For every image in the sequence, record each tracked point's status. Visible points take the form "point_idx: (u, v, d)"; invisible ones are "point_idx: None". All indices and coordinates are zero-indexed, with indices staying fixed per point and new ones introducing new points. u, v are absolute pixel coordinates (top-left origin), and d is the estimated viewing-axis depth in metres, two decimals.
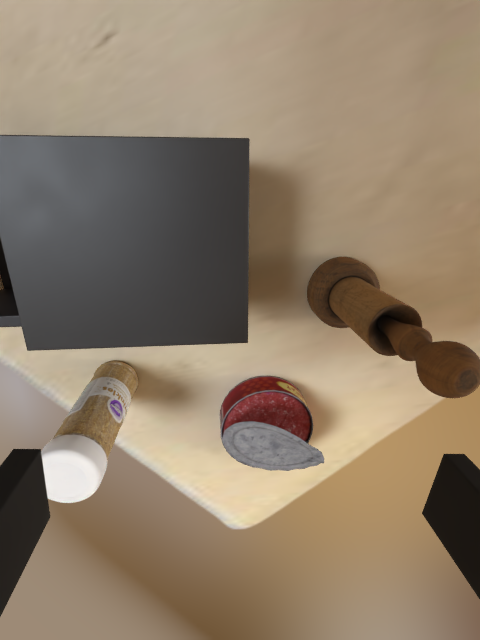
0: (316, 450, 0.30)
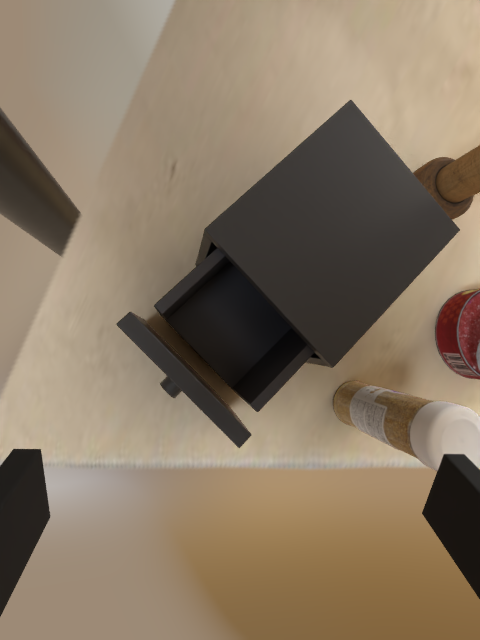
0: None
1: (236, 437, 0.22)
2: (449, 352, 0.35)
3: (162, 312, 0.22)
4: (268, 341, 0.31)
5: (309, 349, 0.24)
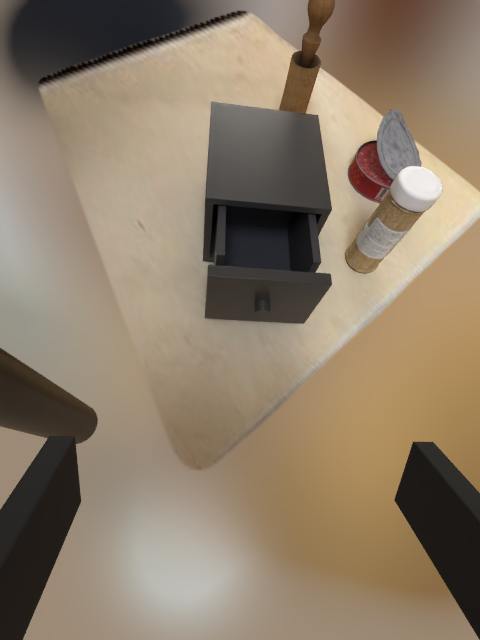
0: (391, 112, 0.46)
1: (324, 280, 0.31)
2: (377, 193, 0.48)
3: (224, 254, 0.31)
4: (284, 260, 0.41)
5: (311, 216, 0.34)
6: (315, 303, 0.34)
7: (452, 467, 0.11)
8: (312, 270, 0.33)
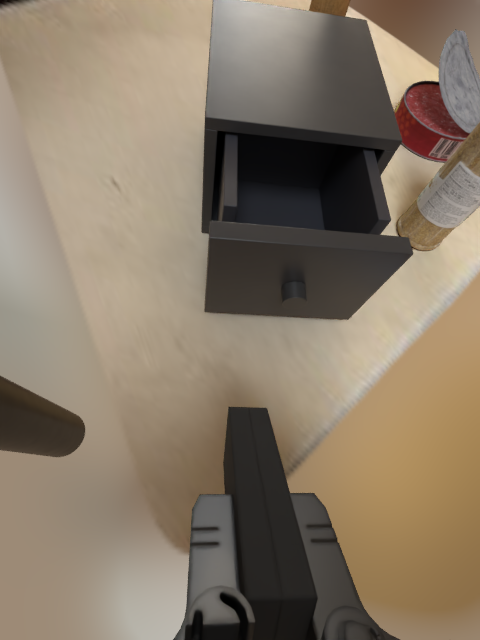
0: (456, 33, 0.34)
1: (401, 247, 0.19)
2: (433, 147, 0.36)
3: (236, 205, 0.19)
4: (317, 230, 0.29)
5: (369, 153, 0.22)
6: (375, 287, 0.22)
7: (271, 428, 0.12)
8: None
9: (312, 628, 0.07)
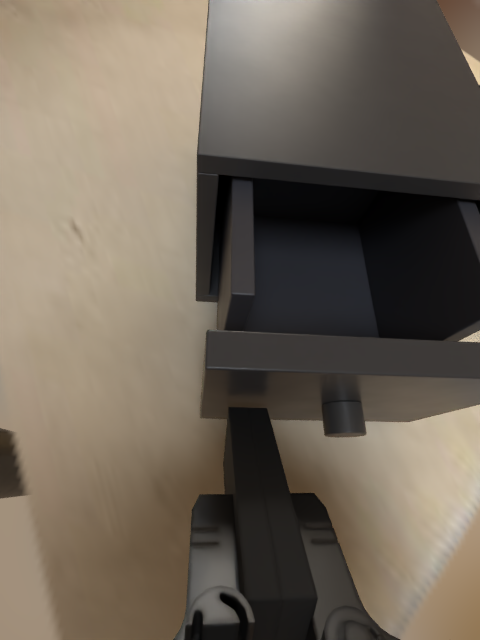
0: None
1: None
2: None
3: (253, 292, 0.11)
4: (359, 285, 0.20)
5: None
6: (473, 404, 0.14)
7: (271, 428, 0.12)
8: (476, 327, 0.13)
9: (313, 627, 0.07)
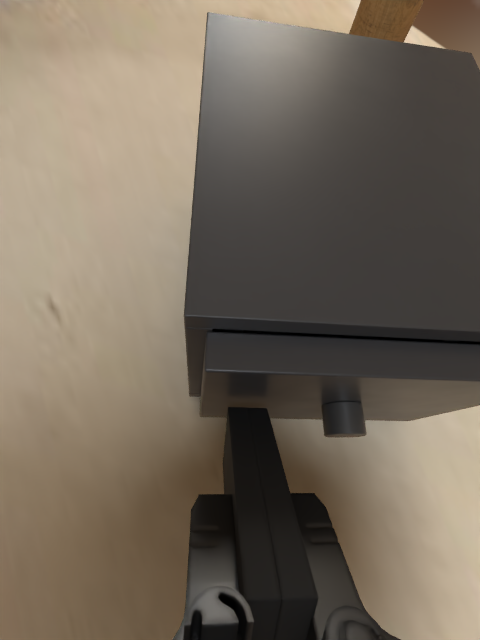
0: None
1: None
2: None
3: None
4: None
5: None
6: (474, 405, 0.14)
7: (271, 428, 0.12)
8: None
9: (313, 628, 0.07)
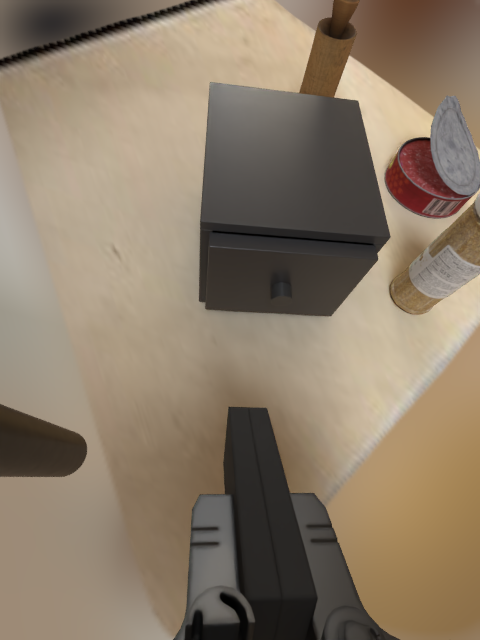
0: (448, 99, 0.35)
1: (368, 254, 0.22)
2: (426, 205, 0.37)
3: None
4: None
5: None
6: (351, 287, 0.26)
7: (271, 428, 0.12)
8: None
9: (312, 627, 0.07)
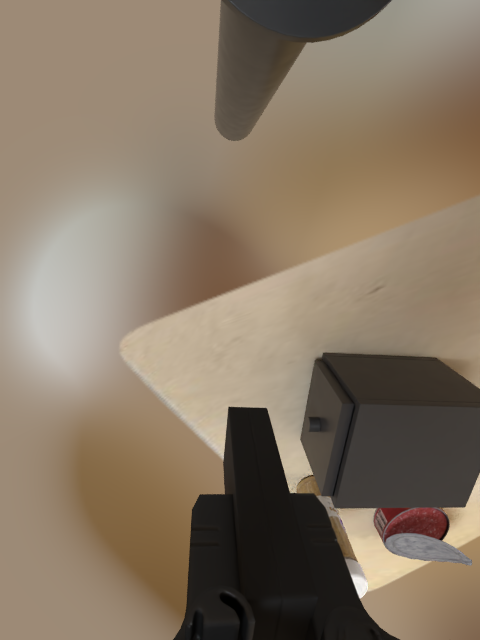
0: (468, 559, 0.43)
1: (326, 491, 0.35)
2: (383, 513, 0.48)
3: None
4: None
5: None
6: (311, 467, 0.38)
7: (271, 428, 0.12)
8: None
9: (312, 628, 0.07)
